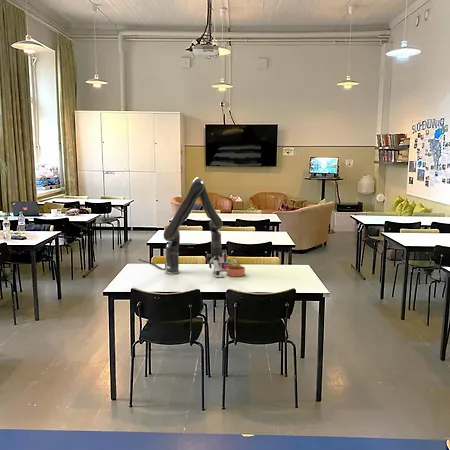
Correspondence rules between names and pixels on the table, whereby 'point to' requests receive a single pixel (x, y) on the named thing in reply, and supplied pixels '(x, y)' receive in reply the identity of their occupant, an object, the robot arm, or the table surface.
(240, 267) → the bowl
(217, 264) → the gear board
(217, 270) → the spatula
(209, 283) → the table surface
